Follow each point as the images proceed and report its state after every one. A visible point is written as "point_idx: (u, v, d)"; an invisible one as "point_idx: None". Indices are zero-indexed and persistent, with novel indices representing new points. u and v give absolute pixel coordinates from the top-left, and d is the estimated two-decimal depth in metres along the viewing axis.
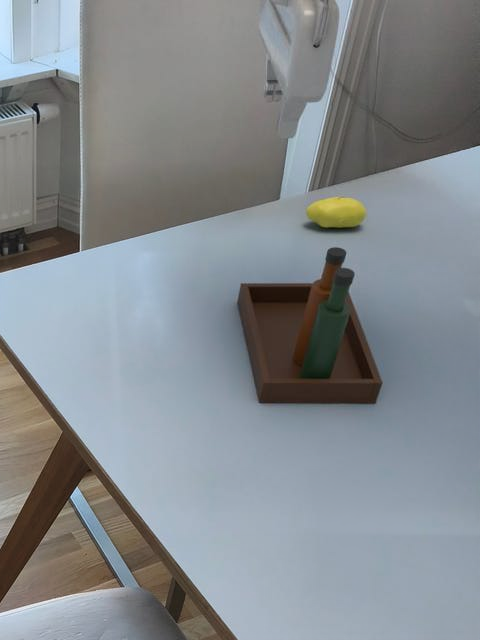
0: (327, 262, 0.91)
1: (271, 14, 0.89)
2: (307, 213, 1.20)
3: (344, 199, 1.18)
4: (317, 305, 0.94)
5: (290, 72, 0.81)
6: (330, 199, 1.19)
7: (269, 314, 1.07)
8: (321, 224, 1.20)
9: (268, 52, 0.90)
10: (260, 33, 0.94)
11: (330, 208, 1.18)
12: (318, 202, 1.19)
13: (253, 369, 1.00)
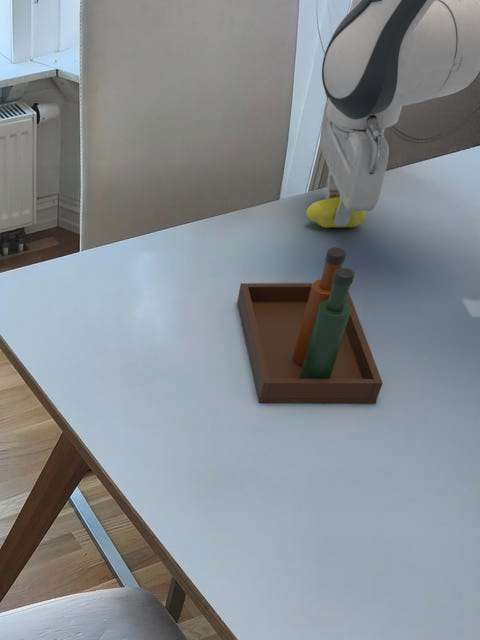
0: (327, 262, 0.91)
1: (332, 138, 1.16)
2: (307, 213, 1.20)
3: None
4: (317, 305, 0.94)
5: (351, 190, 1.09)
6: (330, 199, 1.19)
7: (269, 314, 1.07)
8: (321, 224, 1.20)
9: (329, 166, 1.17)
10: (321, 148, 1.21)
11: (330, 208, 1.18)
12: (318, 202, 1.19)
13: (253, 369, 1.00)
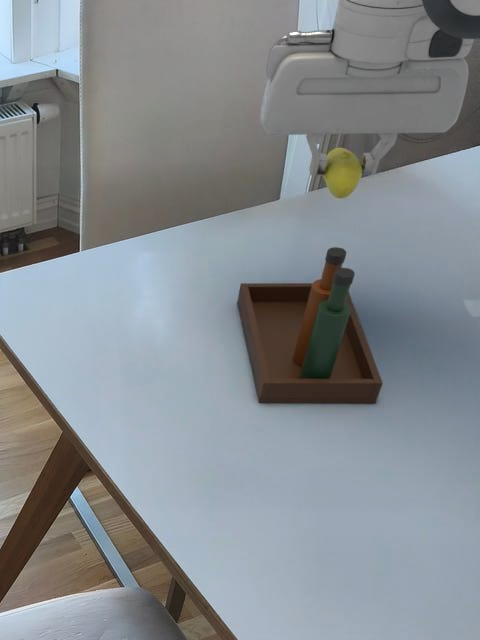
0: (327, 262, 0.91)
1: None
2: None
3: (346, 157, 0.97)
4: (317, 305, 0.94)
5: None
6: (346, 151, 0.98)
7: (269, 314, 1.07)
8: None
9: None
10: None
11: (331, 156, 0.99)
12: None
13: (253, 369, 1.00)
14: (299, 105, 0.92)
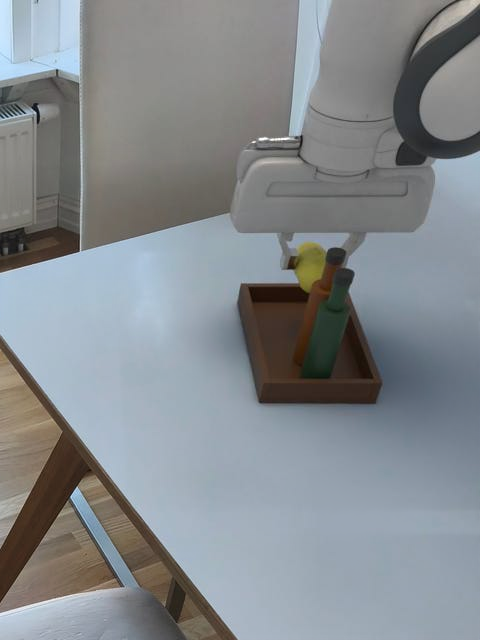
0: (327, 262, 0.91)
1: None
2: None
3: (316, 253, 0.97)
4: (317, 305, 0.94)
5: None
6: (316, 246, 0.99)
7: (269, 314, 1.07)
8: None
9: None
10: None
11: (301, 250, 0.99)
12: (310, 241, 1.00)
13: (253, 369, 1.00)
14: (268, 206, 0.93)
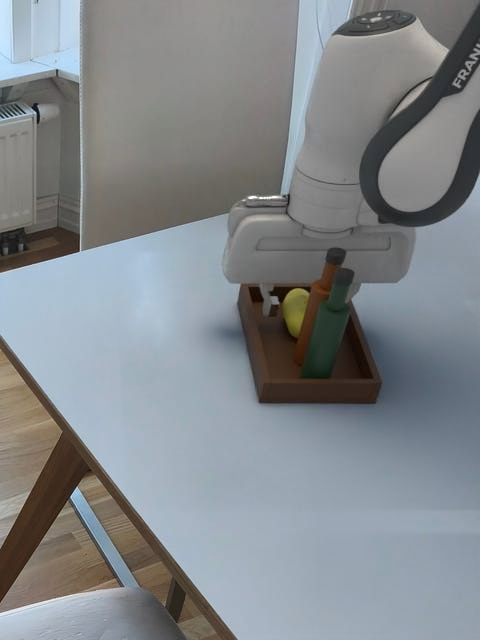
0: (327, 262, 0.91)
1: None
2: None
3: (304, 300, 1.02)
4: (317, 305, 0.94)
5: None
6: (304, 293, 1.03)
7: None
8: None
9: None
10: None
11: (290, 297, 1.03)
12: (299, 288, 1.04)
13: (253, 369, 1.00)
14: (258, 259, 0.97)
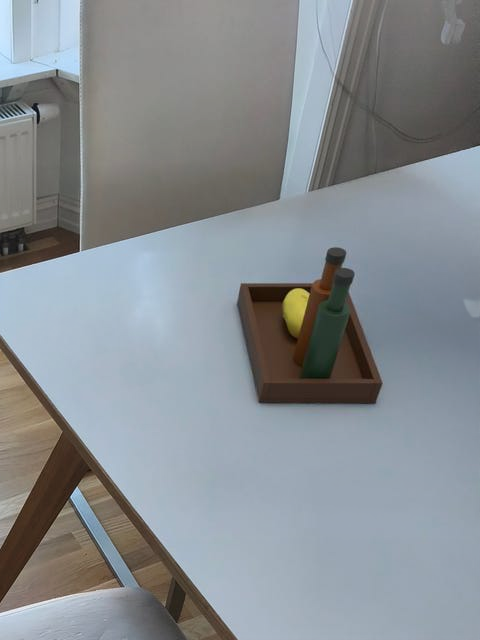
0: (327, 262, 0.91)
1: None
2: None
3: (304, 300, 1.02)
4: (317, 305, 0.94)
5: None
6: (304, 293, 1.03)
7: (269, 314, 1.07)
8: None
9: None
10: None
11: (290, 297, 1.04)
12: (299, 288, 1.04)
13: (253, 369, 1.00)
14: None
